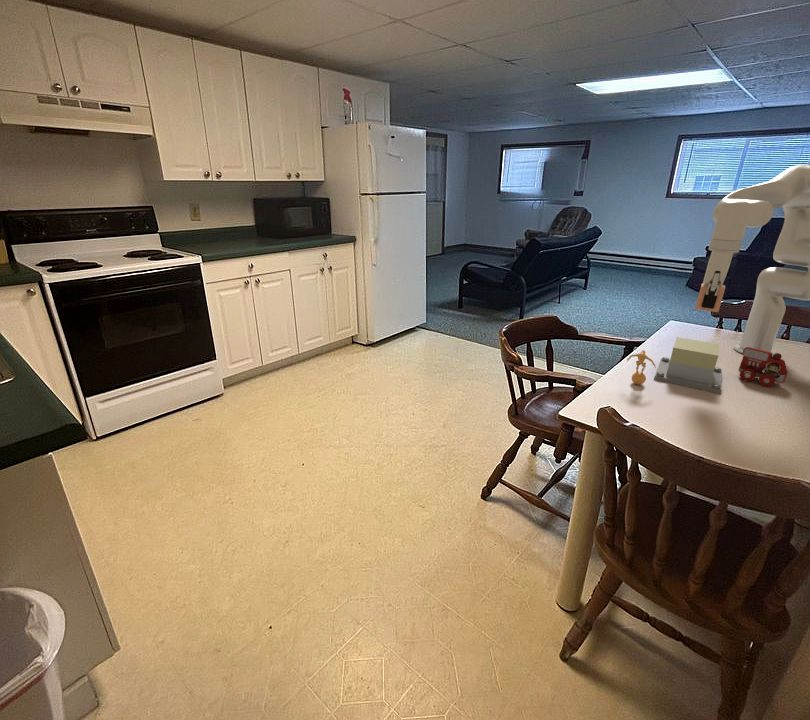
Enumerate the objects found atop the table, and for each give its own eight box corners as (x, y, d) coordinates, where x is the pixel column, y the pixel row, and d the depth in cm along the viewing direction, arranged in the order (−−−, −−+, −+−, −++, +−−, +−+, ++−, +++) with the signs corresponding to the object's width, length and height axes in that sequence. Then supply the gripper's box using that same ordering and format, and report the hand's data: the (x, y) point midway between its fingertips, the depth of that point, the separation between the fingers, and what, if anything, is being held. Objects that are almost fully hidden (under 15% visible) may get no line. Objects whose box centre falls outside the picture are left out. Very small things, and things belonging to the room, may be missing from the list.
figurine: (653, 385, 138) (662, 350, 133) (647, 392, 134) (656, 356, 129) (625, 378, 143) (633, 343, 138) (619, 384, 139) (627, 348, 134)
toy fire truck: (779, 390, 135) (791, 359, 131) (732, 378, 144) (741, 348, 140) (784, 384, 140) (795, 354, 136) (738, 372, 148) (747, 343, 144)
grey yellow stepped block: (660, 361, 156) (667, 332, 152) (720, 373, 147) (730, 343, 143) (653, 379, 142) (661, 348, 138) (720, 393, 133) (730, 361, 129)
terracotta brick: (696, 304, 139) (702, 283, 137) (718, 307, 136) (725, 285, 134) (694, 309, 135) (701, 286, 132) (718, 312, 132) (725, 289, 129)
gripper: (710, 241, 137) (695, 297, 144) (708, 247, 124) (691, 309, 130) (739, 243, 133) (722, 301, 140) (741, 250, 120) (722, 313, 127)
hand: (707, 304), depth 135 cm, fingers closed on terracotta brick, 6 cm apart
